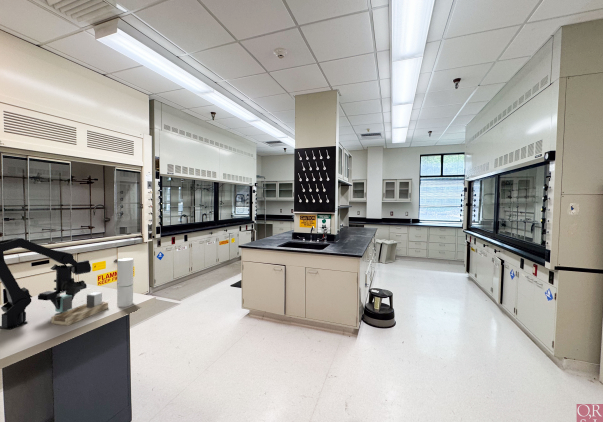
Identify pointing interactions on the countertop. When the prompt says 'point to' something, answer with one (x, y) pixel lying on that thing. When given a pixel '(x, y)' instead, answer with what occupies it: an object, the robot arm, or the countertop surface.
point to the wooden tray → (77, 314)
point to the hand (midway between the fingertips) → (63, 307)
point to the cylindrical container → (125, 282)
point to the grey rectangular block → (94, 299)
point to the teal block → (65, 303)
